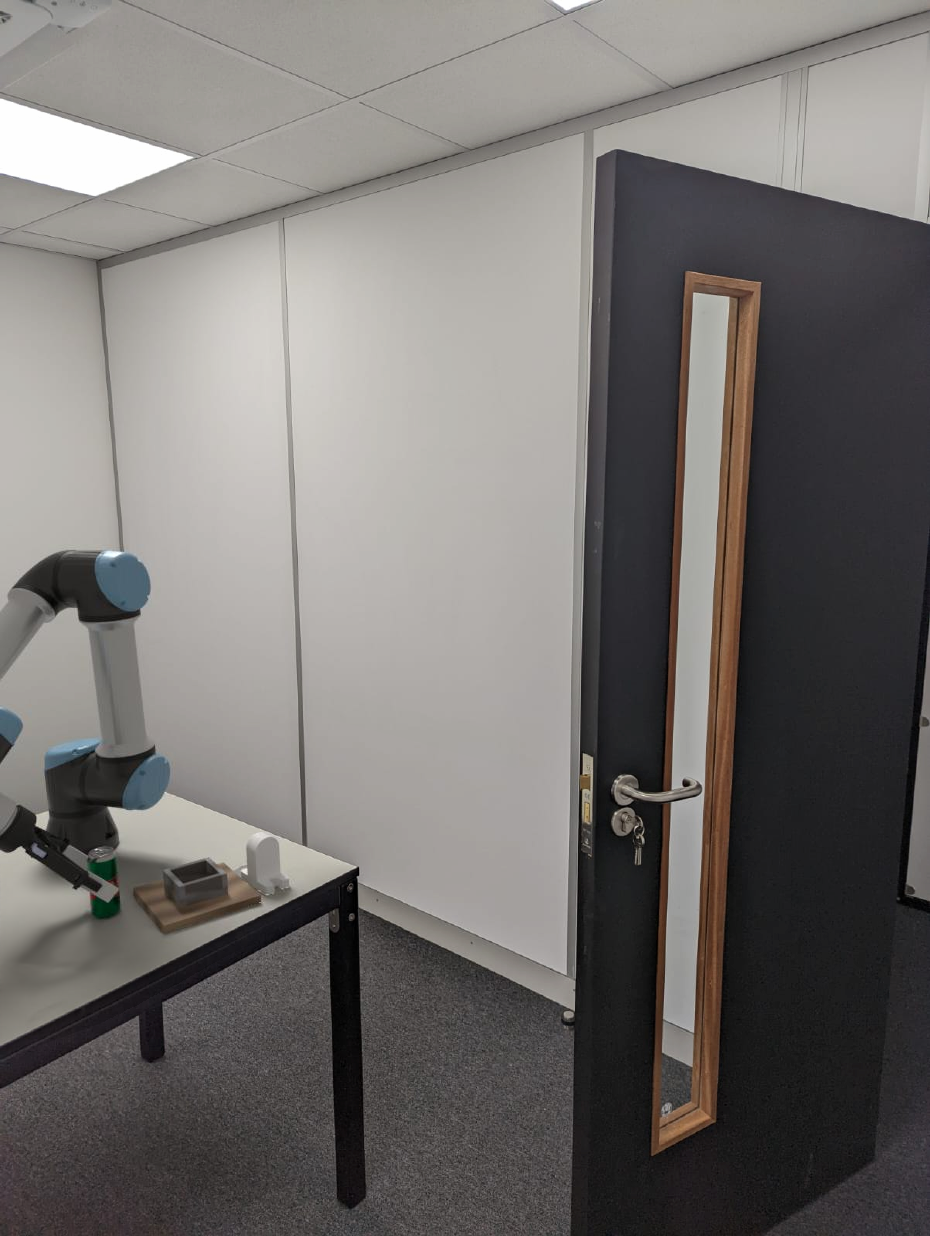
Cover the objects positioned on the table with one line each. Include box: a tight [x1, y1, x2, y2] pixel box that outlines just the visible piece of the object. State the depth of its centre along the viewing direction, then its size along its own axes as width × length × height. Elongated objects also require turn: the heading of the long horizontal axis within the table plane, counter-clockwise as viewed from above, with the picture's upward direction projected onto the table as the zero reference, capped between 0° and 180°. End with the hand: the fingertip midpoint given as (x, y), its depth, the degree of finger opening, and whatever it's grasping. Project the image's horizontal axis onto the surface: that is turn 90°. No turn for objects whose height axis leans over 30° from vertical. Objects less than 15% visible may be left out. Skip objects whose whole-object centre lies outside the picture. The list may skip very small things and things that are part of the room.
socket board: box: [132, 857, 262, 934], centre depth 163 cm, size 18×18×6 cm
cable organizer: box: [240, 831, 290, 895], centre depth 169 cm, size 5×10×10 cm, turn 44°
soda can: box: [87, 847, 122, 920], centre depth 157 cm, size 5×5×12 cm
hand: (102, 881), depth 157 cm, fingers open, 13 cm apart
